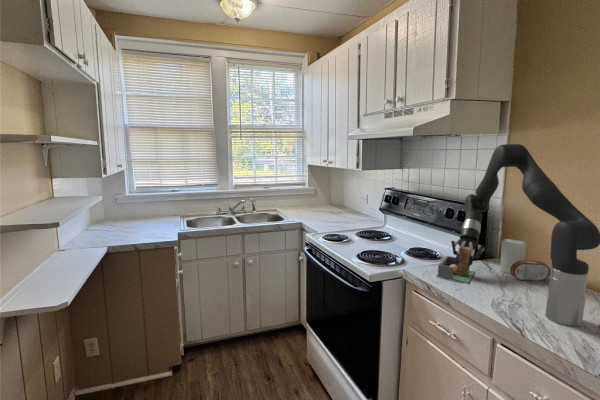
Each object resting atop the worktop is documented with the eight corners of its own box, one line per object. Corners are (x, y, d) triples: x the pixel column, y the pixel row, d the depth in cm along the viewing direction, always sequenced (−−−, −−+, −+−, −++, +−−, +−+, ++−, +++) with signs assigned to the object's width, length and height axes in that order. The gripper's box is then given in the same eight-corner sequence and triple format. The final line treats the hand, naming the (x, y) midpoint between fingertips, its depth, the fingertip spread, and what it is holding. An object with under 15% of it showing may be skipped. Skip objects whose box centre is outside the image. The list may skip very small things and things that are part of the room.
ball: (453, 261, 151) (447, 267, 153) (452, 264, 148) (445, 270, 150) (461, 267, 150) (455, 273, 152) (459, 270, 146) (453, 276, 148)
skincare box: (524, 273, 151) (527, 241, 149) (518, 276, 147) (522, 244, 145) (504, 268, 158) (507, 237, 155) (498, 270, 154) (501, 239, 152)
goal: (474, 272, 152) (475, 260, 151) (468, 283, 139) (469, 271, 139) (444, 266, 160) (445, 255, 159) (436, 276, 147) (437, 264, 146)
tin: (545, 279, 144) (547, 260, 143) (550, 282, 141) (552, 263, 140) (508, 278, 146) (510, 259, 145) (512, 280, 143) (514, 262, 142)
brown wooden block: (469, 273, 148) (471, 247, 146) (467, 276, 145) (469, 249, 143) (459, 271, 151) (461, 246, 149) (457, 274, 147) (459, 248, 145)
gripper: (453, 224, 155) (445, 256, 147) (487, 229, 147) (481, 263, 139) (454, 233, 160) (447, 264, 152) (488, 238, 152) (482, 271, 144)
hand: (463, 263), depth 145 cm, fingers closed on brown wooden block, 4 cm apart
